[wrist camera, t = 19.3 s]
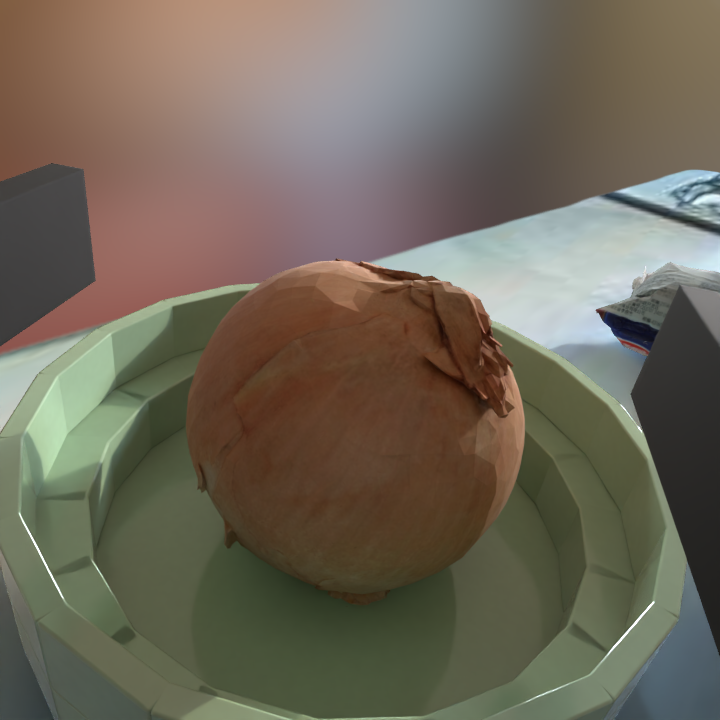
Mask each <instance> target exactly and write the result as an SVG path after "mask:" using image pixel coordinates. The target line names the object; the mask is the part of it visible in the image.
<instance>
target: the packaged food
mask: <svg viewBox="0 0 720 720" xmlns="http://www.w3.org/2000/svg"><path fill="white" fill-rule="evenodd" d="M679 285H684V286H690V287H695V288H700V289H705V290H710V291H715V292H719V294H720V273H718V272H714V271H707V270H701V269H695V268H688V267H684V266H680V265H677V264H674V263H671V262H670V263H667V264H665V265H664V266H663V267H661V268H660V269H658V270H657V271H656V272H653V273H650V274H646V266H645V271H644V273H643V277H638V278H636V279H635V280H634V281H633V285H632V289H634V290H633V292H632V295H631V297H630V298H628V299H625V300H623V301H620V302H618V303H615V304H612V305H608V306H605V307H602V308H599V309H596V311H597V312H596V313H599V315H600V317H601V319H602V320H603V322H604V323H606V324H607V325H608V326H609V327H610V328H611V330H612V332H613V334H614V336H615V337H616V338H617V339H618V340H619V341H620V342H621V344H622V345H623V346H624V347H626V348H629V349H631V350H633V351H635V352H638V353H640V354H642V355H644V356H648V354H649V352H650V350H651V347H652V345H653V343H654V341H655V338H656V336H657V334H658V332H659V329H660V327H661V325H662V323H663V321H664V318H665V316H666V314H667V312H668V309H669V307H670V305H671V303H672V300H673V298H674V296H675V294H676V291H677V289H678V287H679Z"/></svg>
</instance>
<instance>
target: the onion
mask: <svg viewBox="0 0 720 720" xmlns="http://www.w3.org/2000/svg"><path fill="white" fill-rule="evenodd" d="M491 325H492V322H491V320H490V318H489V315H488V314H487V313H486V311H485V309H484V307H483V305H482V303H481V300H480V299H478V298H477V297H476V296H475V295H473V294H472V293H470V292H468V291H466V290H464V289H462V288H459V287H455V286H453V285H452V284H451V283H450V282H445V281H440V280H438V279H436V278H435V277H433V276H426V277H422V276H421V275H419V274H417V273H411V272H406V271H397V270H390V269H387V268H384V267H381V266H378V265H374V264H371V263H367V262H363V261H361V262H360V263H356V262H350V261H346V260H341V259H336V260H335V261H322V262H314V263H310V264H307V265H303V266H300V267H297V268H293V269H290V270H286V271H283V272H280V273H278V274H276V275H274V276H272V277H270V278H268V279H267V280H265V281H263V282H262V283H260V284H259V285H258V286H256V287H255V288H253V289H252V290H251V291H249V292H248V293H247V294H246V295H245V296H244V297H243V298H242V299H241V300H239V301H238V302H237V303H236V304H235V305H234V306H233V307H232V308H231V309H230V311H229V312H228V313H227V314H226V315H225V317H224V318H223V319H222V320H221V322H220V323H219V325H218V327H217V328H216V330H215V332H214V334H213V335H212V337H211V339H210V340H209V342H208V344H207V346H206V348H205V350H204V351H203V353H202V355H201V357H200V360H199V362H198V365H197V368H196V371H195V374H194V377H193V381H192V384H191V387H190V391H189V394H188V404H187V417H186V434H187V440H188V447H189V453H190V456H191V459H192V463H193V466H194V469H195V472H196V475H197V478H198V488H197V490H198V489H200V490H201V493H202V492H204V491H205V490H206V491H207V493H208V495H209V497H210V499H211V500H212V502H213V504H214V506H215V508H216V509H217V511H218V512H219V514H220V516H221V517H222V519H223V520H224V530H225V539H224V545H225V546H226V547H227V549H228V548H231V546H232V544H233V543H234V542H236V541H238V542H239V544H240V545H241V546H243V547H244V548H246V549H248V550H249V551H251V552H252V553H253V554H254V555H255V556H257V557H258V558H259V559H261V560H263V561H264V562H266V563H267V564H269V565H270V566H272V567H274V568H275V569H278V570H280V571H282V572H284V573H286V574H288V575H290V576H293V577H295V578H297V579H299V580H301V581H304V582H306V583H308V584H311V585H314V586H316V587H315V588H316V589H318V590H328V595H329V596H331V597H333V598H335V599H339V598H341V599H343V600H344V601H346V602H348V603H350V604H356V605H368V604H370V603H371V602H374V601H379V600H382V598H383V599H384V596H385V598H386V597H387V593H389V592H390V590H391V589H394V588H398V587H402V586H405V585H409V584H412V583H415V582H417V581H419V580H422V579H424V578H426V577H429V576H431V575H433V574H436V573H438V572H440V571H442V570H443V569H445V568H447V567H448V566H450V565H451V564H453V563H455V562H456V561H458V560H459V559H461V558H462V557H463V556H464V555H465V554H466V553H467V552H468V551H469V550H470V549H471V547H472V546H473V545H474V544H475V543H476V542H477V541H478V540H479V539H480V537H481V536H482V535H483V534H484V533H485V532H486V531H487V529H488V528H489V527H490V526H491V525H492V523H493V522H494V521H495V520H496V519H497V517H498V515H499V514H500V512H501V511H502V509H503V508H504V506H505V505H506V503H507V500H508V498H509V496H510V494H511V492H512V489H513V487H514V484H515V481H516V479H517V475H518V472H519V468H520V464H521V459H522V453H523V448H524V436H525V417H524V411H523V405H522V400H521V396H520V392H519V389H518V386H517V383H516V380H515V378H514V375H513V372H512V370H511V368H510V367H509V366H511V367H513V364H512V363H511V361H510V360H509V359H508V358H507V357H506V356H505V354H504V353H503V352H502V351H501V350H500V348H499V346H500V347H502V345H501V344H500V343H499V342H498V341H496V340H495V338H494V337H493V331H492V328H491ZM346 607H347V606H346Z"/></svg>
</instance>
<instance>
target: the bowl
mask: <svg viewBox="0 0 720 720" xmlns="http://www.w3.org/2000/svg"><path fill="white" fill-rule="evenodd" d="M259 284H260V283H258V284H242V285H233V286H232V285H229V286H225V287H220V288H216V289H211V290H206V291H202V292H197V293H193V294H188V295H183V296H179V297H174V298H170V299H166V300H163V301H160V302H157V303H155V304H152V305H150V306H148V307H145V308H143V309H141V310H139V311H136V312H134V313H132V314H129V315H127V316H125V317H122V318H120V319H118V320H115V321H113V322H111V323H108V324H106V325H104V326H101V327H99V328H97V329H95V330H94V331H93V332H91V333H90V334H89V335H87V336H86V337H85V338H83V339H82V340H81V341H80V342H78V343H77V344H76V345H74V346H73V347H72V348H70V349H69V350H68V351H67V352H65V353H64V354H63V355H61V356H60V357H59V358H57V359H56V360H55V361H54V362H52V363H51V364H50V365H48V366H47V367H46V368H44V369H43V370H42V371H41V372H39V374H37V376H36V377H35V379H34V380H33V382H32V384H31V385H30V387H29V388H28V390H27V392H26V393H25V395H24V396H23V398H22V399H21V401H20V403H19V404H18V406H17V407H16V409H15V410H14V412H13V414H12V415H11V417H10V418H9V420H8V422H7V423H6V425H5V426H4V428H3V429H2V431H1V433H0V566H1V570H2V574H3V577H4V581H5V584H6V588H7V591H8V596H9V599H10V603H11V606H12V610H13V614H14V617H15V621H16V625H17V628H18V632H19V636H20V639H21V643H22V647H23V649H24V651H25V654H26V656H27V658H28V660H29V663H30V665H31V667H32V670H33V672H34V674H35V676H36V679H37V681H38V683H39V686H40V688H41V690H42V692H43V695H44V697H45V699H46V702H47V704H48V706H49V709H50V711H51V713H52V715H53V718H54V720H614V718H615V717H616V715H617V714H618V712H619V711H620V709H621V708H622V706H623V705H624V703H625V702H626V700H627V699H628V697H629V696H630V694H631V693H632V691H633V690H634V688H635V687H636V685H637V684H638V682H639V681H640V679H641V677H642V676H643V674H644V673H645V671H646V670H647V668H648V667H649V665H650V664H651V662H652V661H653V659H654V658H655V656H656V655H657V653H658V652H659V650H660V648H661V647H662V645H663V644H664V642H665V641H666V639H667V638H668V636H669V635H670V633H671V632H672V630H673V629H674V627H675V626H676V624H677V623H678V619H679V616H680V609H681V602H682V595H683V588H684V580H685V573H686V566H687V558H686V555H685V552H684V550H683V547H682V544H681V541H680V538H679V535H678V532H677V529H676V526H675V523H674V520H673V517H672V514H671V511H670V508H669V505H668V503H667V500H666V497H665V494H664V491H663V488H662V485H661V482H660V479H659V476H658V473H657V470H656V467H655V464H654V461H653V459H652V456H651V453H650V450H649V447H648V444H647V441H646V438H645V435H644V433H643V432H642V431H641V429H640V428H639V427H638V425H637V424H636V423H635V421H634V420H633V419H632V417H631V416H630V415H629V413H628V412H627V411H626V410H625V408H624V407H623V406H622V405H621V404H620V403H619V402H618V401H617V400H616V399H614V398H613V397H612V396H611V395H609V394H608V393H607V392H606V391H605V390H603V389H602V388H601V387H600V386H598V385H597V384H596V383H595V382H593V381H592V380H591V379H590V378H589V377H587V376H586V375H585V374H584V373H582V372H581V371H580V370H579V369H577V368H576V367H575V366H574V365H573V364H571V363H570V362H569V361H568V360H566V359H564V358H563V357H561V356H560V355H558V354H556V353H554V352H552V351H550V350H549V349H547V348H545V347H543V346H541V345H539V344H538V343H536V342H534V341H532V340H530V339H528V338H527V337H525V336H523V335H521V334H519V333H517V332H516V331H514V330H512V329H510V328H508V327H507V326H505V325H502V324H500V323H497V322H495V321H492V320H491V322H492V325H491V328H492V331H493V337H494V338H495V340H496V341H498V342H499V343H500V344H501V345H502V347H500V346H499V348H500V350H501V351H502V352H503V353H504V354H505V356H506V357H507V358H508V359H509V360H510V361H511V363H512V364H513V367H511V366H509V367H510V368H511V370H512V372H513V375H514V378H515V380H516V383H517V386H518V389H519V392H520V396H521V400H522V405H523V411H524V417H525V436H524V448H523V453H522V459H521V464H520V468H519V472H518V475H517V479H516V481H515V484H514V487H513V489H512V492H511V494H510V496H509V498H508V500H507V503H506V505H505V506H504V508H503V509H502V511H501V512H500V514H499V515H498V517H497V519H496V520H495V521H494V522H493V523H492V525H491V526H490V527H489V528H488V529H487V531H486V532H485V533H484V534H483V535H482V536H481V537H480V539H479V540H478V541H477V542H476V543H475V544H474V545H473V546H472V547H471V549H470V550H469V551H468V552H467V553H466V554H465V555H464V556H463V557H462V558H461V559H459V560H458V561H456V562H455V563H453V564H451V565H450V566H448V567H447V568H445V569H443V570H442V571H440V572H438V573H436V574H433V575H431V576H429V577H426V578H424V579H422V580H419V581H417V582H415V583H412V584H409V585H405V586H402V587H398V588H394V589H391V590H390V592H389V593H387V597H386V598H385V596H384V599H383V598H382V600H379V601H374V602H371V603H370V604H368V605H356V604H350V603H348V602H346V601H344V600H343V599H341V598H339V599H335V598H333V597H331V596H329V595H328V590H318V589H316V588H315V587H316V586H314V585H311V584H308V583H306V582H304V581H301V580H299V579H297V578H295V577H293V576H290V575H288V574H286V573H284V572H282V571H280V570H278V569H275V568H274V567H272V566H270V565H269V564H267V563H266V562H264V561H263V560H261V559H259V558H258V557H257V556H255V555H254V554H253V553H252V552H251V551H249V550H248V549H246V548H244V547H243V546H241V545H240V544H239V542H238V541H236V542H234V543H233V544H232V546H231V548H228V549H227V547H226V546H225V545H224V539H225V530H224V520H223V519H222V517H221V516H220V514H219V512H218V511H217V509H216V508H215V506H214V504H213V502H212V500H211V499H210V497H209V495H208V493H207V491H206V490H205V491H204V492H202V493H201V490H200V489H198V490H197V488H198V478H197V475H196V472H195V469H194V466H193V463H192V459H191V456H190V453H189V447H188V440H187V434H186V417H187V404H188V394H189V391H190V387H191V384H192V381H193V377H194V374H195V371H196V368H197V365H198V362H199V360H200V357H201V355H202V353H203V351H204V350H205V348H206V346H207V344H208V342H209V340H210V339H211V337H212V335H213V334H214V332H215V330H216V328H217V327H218V325H219V323H220V322H221V320H222V319H223V318H224V317H225V315H226V314H227V313H228V312H229V311H230V309H231V308H232V307H233V306H234V305H235V304H236V303H237V302H238V301H239V300H241V299H242V298H243V297H244V296H245V295H246V294H247V293H248V292H249V291H251V290H252V289H253V288H255V287H256V286H258V285H259ZM346 606H347V607H346Z"/></svg>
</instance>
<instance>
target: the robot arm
mask: <svg viewBox="0 0 720 720" xmlns="http://www.w3.org/2000/svg"><path fill="white" fill-rule="evenodd" d="M94 281H95V271H94V263H93V253H92V244H91V236H90V226H89V217H88V208H87V199H86V190H85V180H84V171H83V169H79V168H74V167H69V166H64V165H58V164H53V163H51V164H48V165H46V166H43V167H40V168H37V169H34V170H32V171H29V172H26V173H23V174H20V175H18V176H15V177H12V178H9V179H6V180H4V181H1V182H0V346H1V345H3V344H4V343H6V342H7V341H8V340H10V339H11V338H13V337H14V336H16V335H17V334H19V333H20V332H22V331H23V330H25V329H26V328H27V327H29V326H30V325H32V324H33V323H34V322H36V321H38V320H39V319H40V318H42V317H43V316H45V315H46V314H48V313H49V312H51V311H52V310H53V309H55V308H56V307H58V306H59V305H61V304H62V303H64V302H65V301H67V300H68V299H70V298H71V297H72V296H74V295H75V294H77V293H78V292H80V291H81V290H83V289H84V288H86V287H87V286H88V285H90V284H91V283H93V282H94ZM631 397H632V400H633V403H634V406H635V409H636V412H637V415H638V417H639V420H640V423H641V426H642V429H643V432H644V435H645V438H646V441H647V444H648V447H649V450H650V453H651V456H652V459H653V461H654V464H655V467H656V470H657V473H658V476H659V479H660V482H661V485H662V488H663V491H664V494H665V497H666V500H667V503H668V505H669V508H670V511H671V514H672V517H673V520H674V523H675V526H676V529H677V532H678V535H679V538H680V541H681V544H682V547H683V550H684V552H685V555H686V558H687V561H688V564H689V567H690V570H691V573H692V576H693V579H694V582H695V585H696V588H697V591H698V594H699V596H700V599H701V602H702V605H703V608H704V611H705V614H706V617H707V620H708V623H709V626H710V629H711V632H712V635H713V638H714V640H715V643H716V646H717V649H718V652H719V655H720V294H719V292H715V291H710V290H705V289H700V288H695V287H690V286H684V285H679V287H678V289H677V291H676V294H675V296H674V298H673V300H672V303H671V305H670V307H669V309H668V312H667V314H666V316H665V318H664V321H663V323H662V325H661V327H660V329H659V332H658V334H657V336H656V338H655V341H654V343H653V345H652V347H651V350H650V352H649V354H648V356H647V358H646V361H645V363H644V365H643V367H642V370H641V372H640V374H639V376H638V379H637V381H636V383H635V385H634V388H633V390H632V392H631Z"/></svg>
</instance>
